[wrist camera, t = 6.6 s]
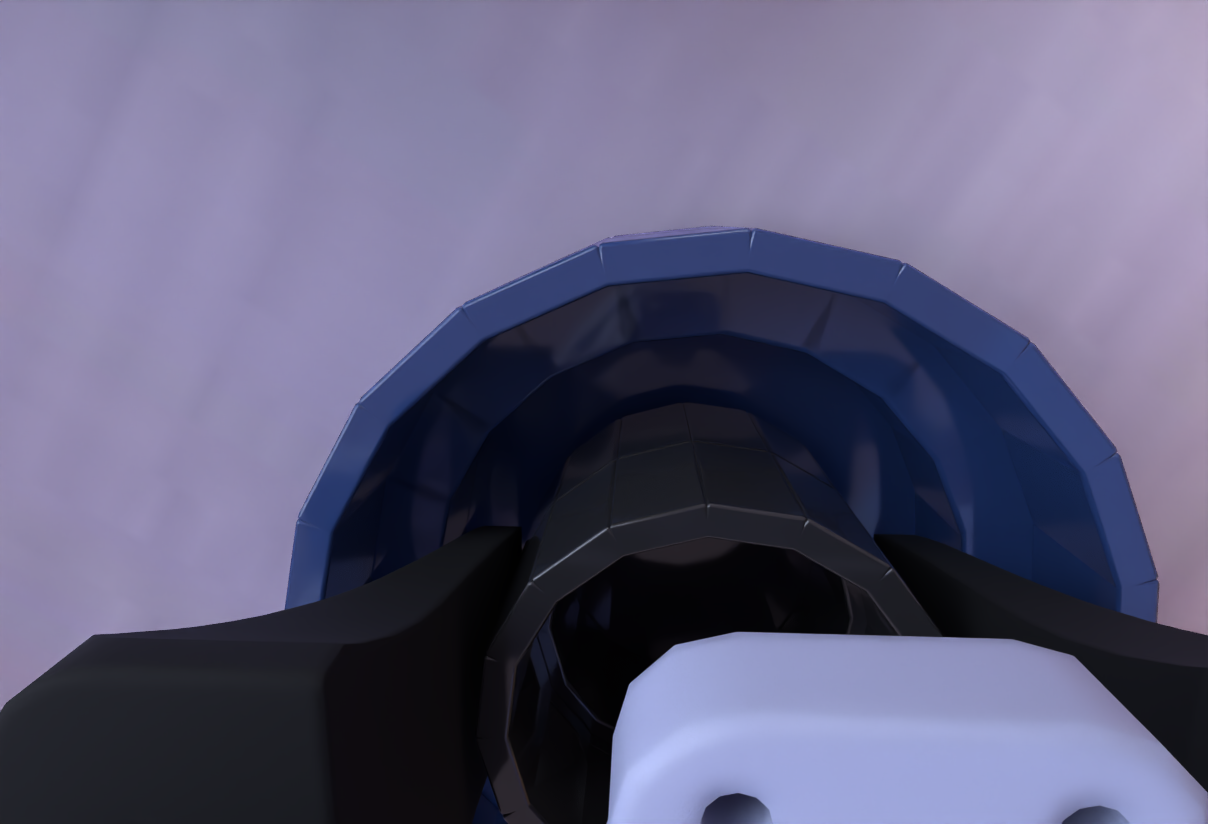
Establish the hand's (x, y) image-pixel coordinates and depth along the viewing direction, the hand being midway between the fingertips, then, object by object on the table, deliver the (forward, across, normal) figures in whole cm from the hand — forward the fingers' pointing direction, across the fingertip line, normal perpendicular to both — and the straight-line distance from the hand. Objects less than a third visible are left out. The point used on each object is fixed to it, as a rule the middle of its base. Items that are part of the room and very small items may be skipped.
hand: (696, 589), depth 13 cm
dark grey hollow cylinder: (+2, 0, 0) cm, 2 cm away
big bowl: (+3, 0, 0) cm, 3 cm away
